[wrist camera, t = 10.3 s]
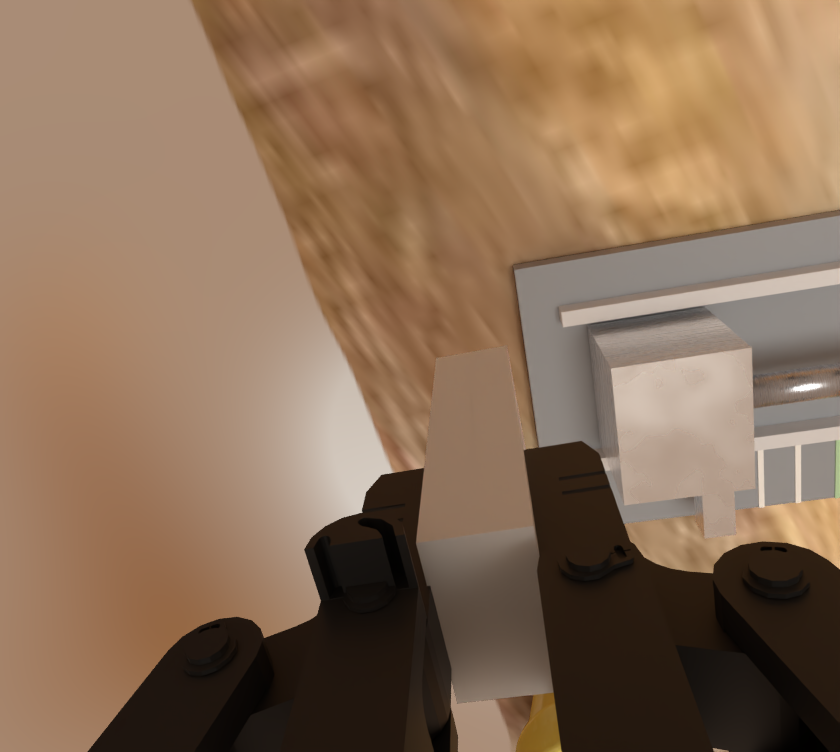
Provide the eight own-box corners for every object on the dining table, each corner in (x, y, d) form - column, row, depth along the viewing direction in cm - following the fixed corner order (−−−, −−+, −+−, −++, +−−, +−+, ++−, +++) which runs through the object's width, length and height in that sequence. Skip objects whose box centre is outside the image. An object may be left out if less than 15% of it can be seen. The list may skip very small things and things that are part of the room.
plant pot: (531, 746, 51) (545, 888, 42) (487, 630, 47) (493, 757, 38) (680, 715, 49) (730, 857, 40) (646, 594, 46) (692, 717, 37)
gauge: (587, 325, 38) (610, 368, 32) (868, 281, 37) (949, 317, 30) (607, 513, 42) (632, 583, 36) (862, 481, 40) (932, 549, 34)
